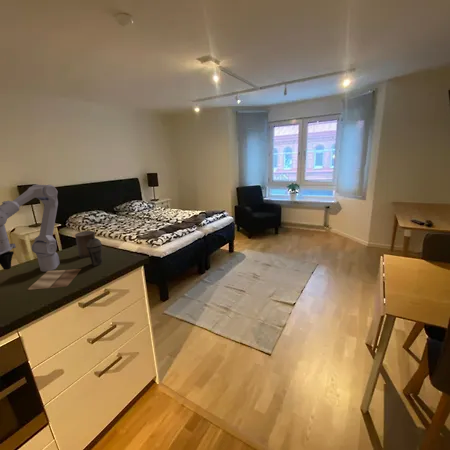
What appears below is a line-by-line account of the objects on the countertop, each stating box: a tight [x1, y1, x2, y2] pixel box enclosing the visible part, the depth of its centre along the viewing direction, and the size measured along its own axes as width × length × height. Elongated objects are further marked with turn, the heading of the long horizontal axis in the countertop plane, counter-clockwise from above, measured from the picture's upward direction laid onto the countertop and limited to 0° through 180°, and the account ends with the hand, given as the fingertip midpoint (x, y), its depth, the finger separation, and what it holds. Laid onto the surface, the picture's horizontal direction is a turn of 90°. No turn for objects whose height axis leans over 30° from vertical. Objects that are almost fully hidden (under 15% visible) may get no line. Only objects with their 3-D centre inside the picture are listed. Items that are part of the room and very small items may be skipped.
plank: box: [26, 269, 67, 291], centre depth 117 cm, size 18×8×1 cm, turn 10°
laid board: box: [49, 268, 82, 289], centre depth 118 cm, size 18×7×1 cm, turn 10°
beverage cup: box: [87, 229, 103, 267], centre depth 131 cm, size 7×7×20 cm
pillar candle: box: [74, 230, 94, 259], centre depth 146 cm, size 10×10×15 cm
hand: (7, 268), depth 109 cm, fingers closed
